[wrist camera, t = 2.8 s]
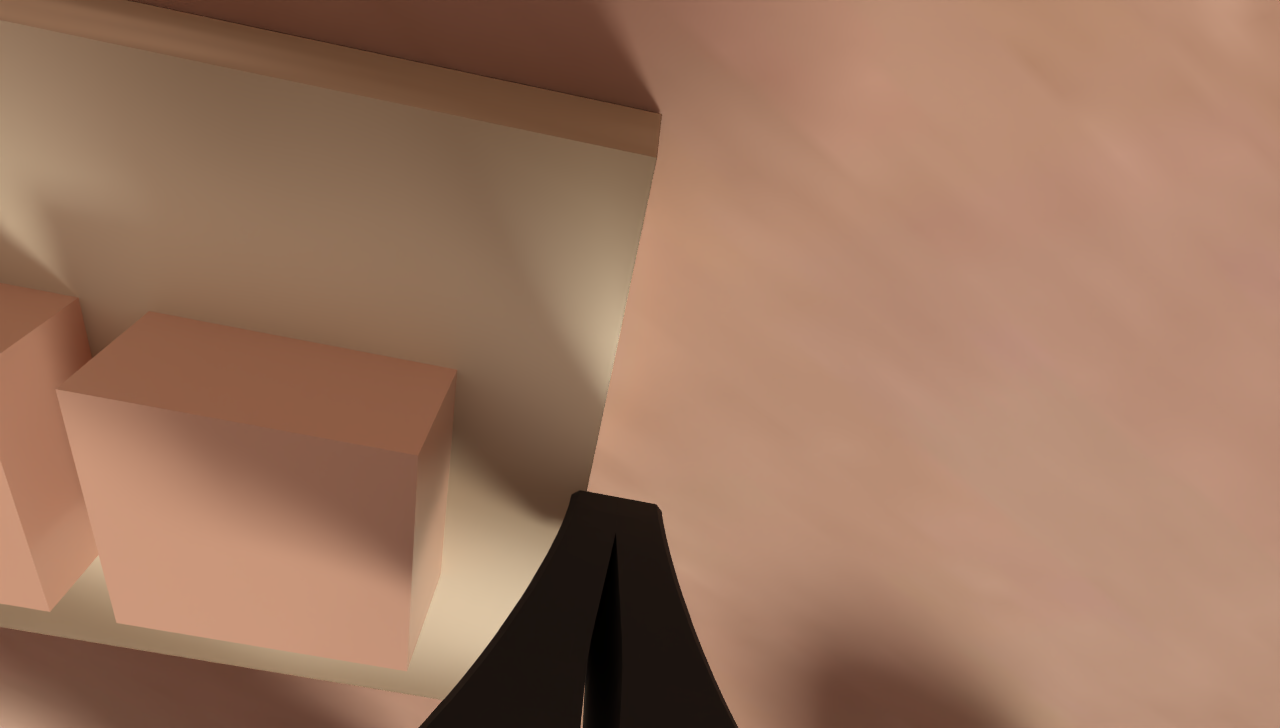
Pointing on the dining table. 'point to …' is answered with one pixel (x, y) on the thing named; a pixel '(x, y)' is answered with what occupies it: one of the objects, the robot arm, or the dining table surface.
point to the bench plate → (335, 259)
